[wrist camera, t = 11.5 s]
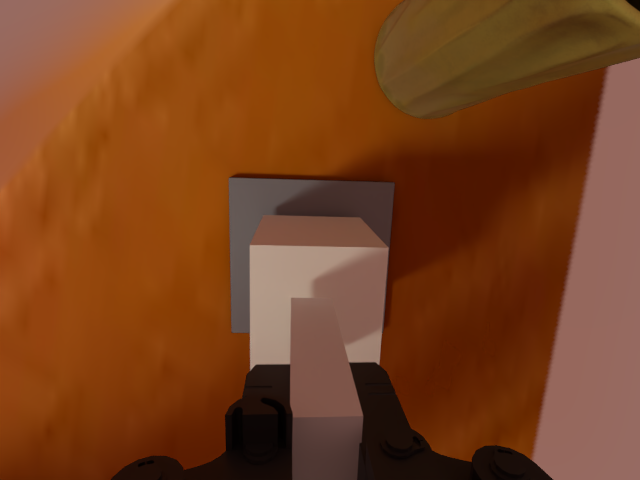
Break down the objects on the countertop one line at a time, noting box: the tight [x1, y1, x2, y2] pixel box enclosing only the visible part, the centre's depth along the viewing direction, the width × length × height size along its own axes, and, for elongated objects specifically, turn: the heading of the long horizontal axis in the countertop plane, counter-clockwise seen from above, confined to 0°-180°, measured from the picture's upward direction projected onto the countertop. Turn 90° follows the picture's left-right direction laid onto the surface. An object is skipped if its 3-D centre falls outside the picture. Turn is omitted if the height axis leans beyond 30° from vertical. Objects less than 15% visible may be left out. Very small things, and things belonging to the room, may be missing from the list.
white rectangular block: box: [250, 215, 389, 371], centre depth 18 cm, size 5×5×7 cm
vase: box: [374, 0, 640, 119], centre depth 14 cm, size 6×6×14 cm
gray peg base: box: [229, 177, 395, 333], centre depth 19 cm, size 9×9×7 cm
